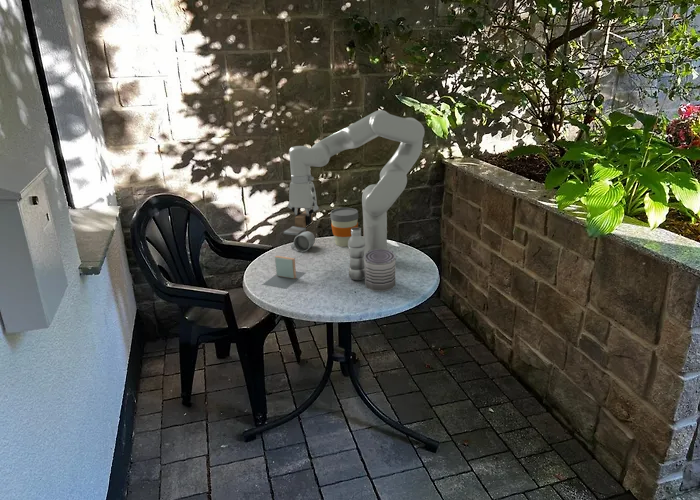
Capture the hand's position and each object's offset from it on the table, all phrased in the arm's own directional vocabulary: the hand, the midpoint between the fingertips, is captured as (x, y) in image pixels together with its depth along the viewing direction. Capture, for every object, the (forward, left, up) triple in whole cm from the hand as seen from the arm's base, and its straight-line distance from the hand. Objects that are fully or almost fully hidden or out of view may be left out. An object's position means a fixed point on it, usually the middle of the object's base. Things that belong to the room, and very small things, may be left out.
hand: (304, 223), depth 196 cm
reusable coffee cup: (-5, -27, -18) cm, 32 cm away
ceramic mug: (+10, -15, -18) cm, 25 cm away
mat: (0, +17, -17) cm, 24 cm away
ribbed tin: (-35, +8, -18) cm, 40 cm away
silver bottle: (-25, +6, -18) cm, 31 cm away
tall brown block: (0, +3, -1) cm, 3 cm away
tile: (+1, +15, -17) cm, 23 cm away
